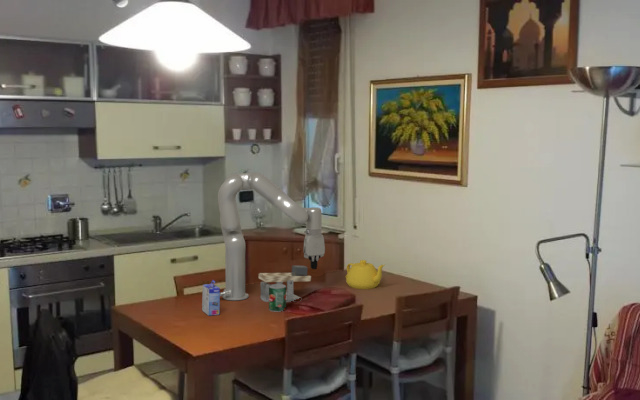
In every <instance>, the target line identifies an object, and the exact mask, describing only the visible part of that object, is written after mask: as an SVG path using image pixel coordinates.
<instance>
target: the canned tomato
mask: <svg viewBox="0 0 640 400" xmlns="http://www.w3.org/2000/svg"><path fill="white" fill-rule="evenodd" d="M286 291H287V284H286V285H285V284H276V283H273V284H269V302H268V310H269V311H270V312H275V313H280V312H281V311H282V312H284V311H283V310H284V308H285V307H286V308H287V302H286ZM282 312H281V313H282Z"/></svg>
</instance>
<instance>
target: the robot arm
mask: <svg viewBox="0 0 640 400" xmlns="http://www.w3.org/2000/svg"><path fill="white" fill-rule="evenodd" d="M249 190H253V191H254V192H256V193H257V194H258V195H259V196H261V197H262V198H263V199H265V201H267V202H268V203H269V204H271V206H273V207H274V208H277V209H278V210H279V211H281V212H282V213H283V214H284V215H285V216H287V217H288V218H289V219H291V220H292V221H293V222H295V224H297V225H304V224H305V225H306V226H305V230H304V231H303V233H304V236H305V237H304V239H303V258H304V259H308V260H309V261H310V269H311V270H318V261H319V259H320V258H322V257H324V255H325V254H326V247H325V238H324V235H323V234H322V218H323V217H322V212H323V211H322V209H321V208H320V207H315V206H312V207H301V205H299V204H298V203H297V202H296V201H294V200H293V199H292V198H291V197H289V195H288V194H287V193H285V192H284V191H283V190H282V189H281V188H280V187H278V186H277V185H276V183H274V182H272V181H271V180H270V179H269V178H268V177H266V176H265V175H264V174H262V173H261V172H258V171H256V172H242V173H231V174H229V175H227V177H225V179H224V182H223V183H222V184H221V186H220V187H219V189H218V192H217V203H218V210H219V214H220V215H219V216H220V217H219V224H220V227H221V232H222V237H223V242H224V248H225V252H224V254H225V255H224V257H225V258H224V259H225V263H224V264H225V266H224V267H225V268H224V269H225V274H224V275H225V288H224V289H223V291H222V292H221V291H220V297H222V299H223V300H225V301H226V300H227V301H242V300H246V299H248V298H249V293H246V240H245V238H244V236H243V232H242V226H241V217H240V215H239V210H238V207H237V199H236V197H237V195H238V193H239V192H240V191H249Z"/></svg>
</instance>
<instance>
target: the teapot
mask: <svg viewBox="0 0 640 400" xmlns="http://www.w3.org/2000/svg"><path fill="white" fill-rule="evenodd" d="M367 261H368V260H366V259H361V260H359V262H355V263H353V262H351V263H348V264H347V265H346V273H347V274H346V275H345V282H346V284H347V285H348V286H349V287H350V288H351V289H355V290H356V289H357V290H370V289H375V288H377V287H378V285H380V282H381V280H382V278H383V277H382V276H383V274H382V273H383V271H382V270H383V267H384V266H385V264H381V265H379V266H378V268H376V267H375V265H374V264H373V263H370V262H367Z"/></svg>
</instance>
